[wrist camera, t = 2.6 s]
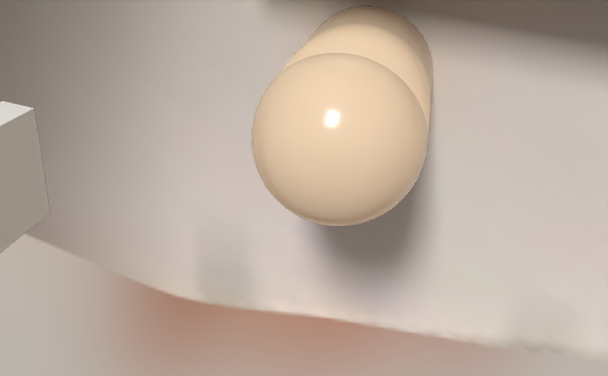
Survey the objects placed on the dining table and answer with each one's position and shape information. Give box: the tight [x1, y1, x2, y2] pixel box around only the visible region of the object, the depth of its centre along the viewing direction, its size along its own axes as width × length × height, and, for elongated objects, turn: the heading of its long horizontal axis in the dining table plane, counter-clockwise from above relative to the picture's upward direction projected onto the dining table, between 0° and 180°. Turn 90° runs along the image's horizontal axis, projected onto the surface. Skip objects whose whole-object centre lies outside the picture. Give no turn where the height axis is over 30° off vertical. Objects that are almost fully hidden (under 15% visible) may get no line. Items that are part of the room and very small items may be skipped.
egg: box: [252, 6, 433, 226], centre depth 15 cm, size 5×5×8 cm
